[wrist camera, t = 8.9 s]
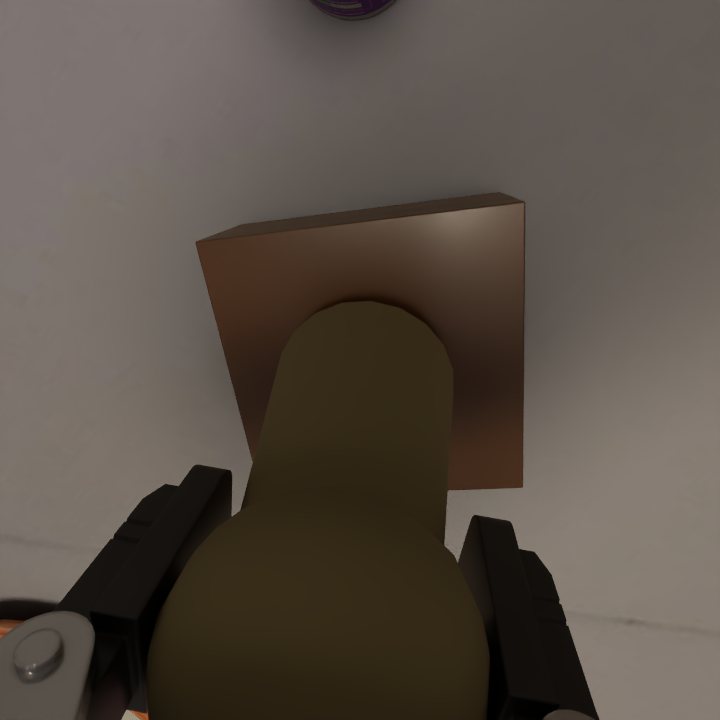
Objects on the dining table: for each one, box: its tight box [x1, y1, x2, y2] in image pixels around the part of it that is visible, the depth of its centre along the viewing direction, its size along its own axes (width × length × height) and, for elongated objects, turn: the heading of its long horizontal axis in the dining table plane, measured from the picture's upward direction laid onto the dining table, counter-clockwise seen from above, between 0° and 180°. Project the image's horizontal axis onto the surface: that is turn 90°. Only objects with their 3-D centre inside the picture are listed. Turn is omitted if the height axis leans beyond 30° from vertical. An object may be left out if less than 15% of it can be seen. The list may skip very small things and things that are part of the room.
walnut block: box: [196, 192, 525, 490], centre depth 19 cm, size 11×11×4 cm
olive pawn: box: [146, 301, 490, 720], centre depth 11 cm, size 6×6×11 cm
